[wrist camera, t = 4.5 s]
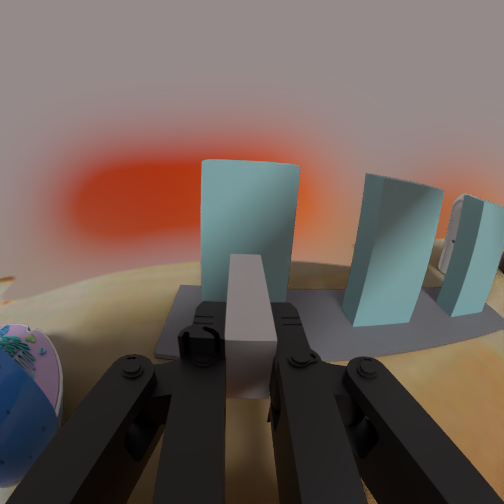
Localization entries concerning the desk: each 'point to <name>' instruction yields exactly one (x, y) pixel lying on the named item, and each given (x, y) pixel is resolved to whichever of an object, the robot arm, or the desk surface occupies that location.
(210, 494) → the robot arm
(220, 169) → the tile
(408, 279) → the tile
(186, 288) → the mat
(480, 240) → the tile
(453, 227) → the photo printer
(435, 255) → the desk surface
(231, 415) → the desk surface
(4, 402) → the cell model
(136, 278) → the desk surface
